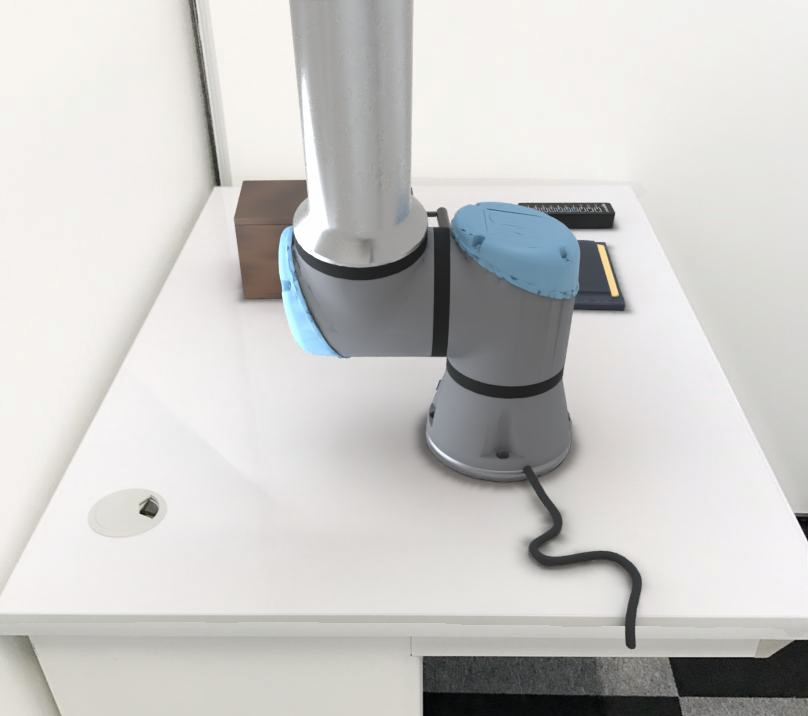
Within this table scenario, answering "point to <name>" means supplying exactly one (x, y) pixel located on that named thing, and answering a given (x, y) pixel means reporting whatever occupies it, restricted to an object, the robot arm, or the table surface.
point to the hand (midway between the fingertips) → (378, 167)
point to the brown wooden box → (264, 231)
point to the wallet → (597, 279)
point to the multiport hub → (578, 213)
